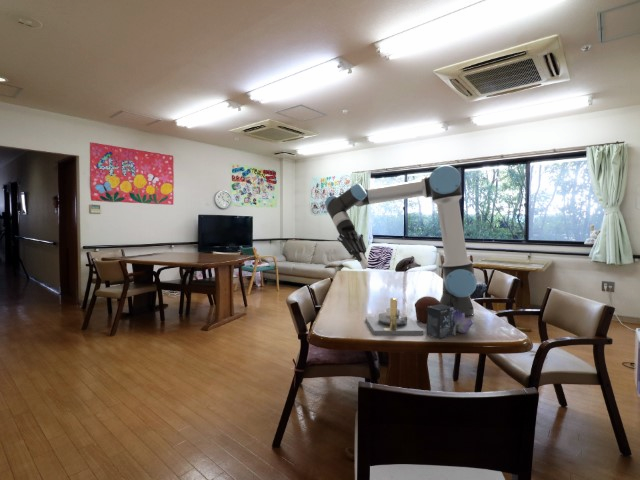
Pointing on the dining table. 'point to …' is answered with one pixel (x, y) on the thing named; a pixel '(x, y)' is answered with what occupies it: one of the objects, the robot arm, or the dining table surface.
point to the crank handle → (392, 316)
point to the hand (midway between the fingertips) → (366, 267)
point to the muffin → (424, 307)
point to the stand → (385, 329)
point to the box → (439, 321)
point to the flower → (460, 322)
